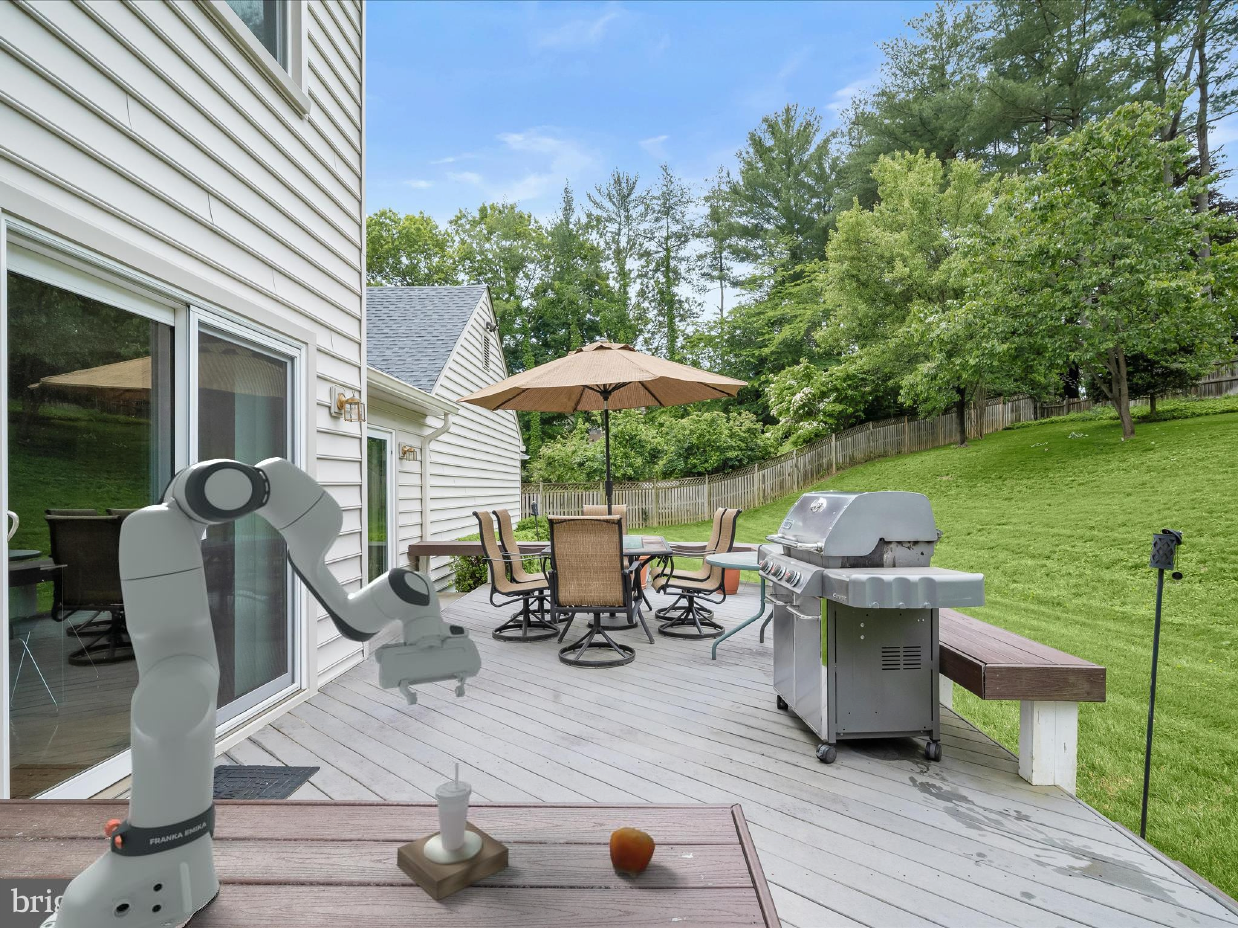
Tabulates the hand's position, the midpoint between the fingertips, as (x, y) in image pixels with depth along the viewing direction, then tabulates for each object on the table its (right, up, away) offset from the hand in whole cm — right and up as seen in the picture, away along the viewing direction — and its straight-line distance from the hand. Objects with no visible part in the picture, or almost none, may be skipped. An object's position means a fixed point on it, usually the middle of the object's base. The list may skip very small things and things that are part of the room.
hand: (437, 699), depth 121 cm
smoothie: (+6, -22, -12) cm, 25 cm away
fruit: (+38, -25, -13) cm, 48 cm away
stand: (+6, -25, -12) cm, 28 cm away
